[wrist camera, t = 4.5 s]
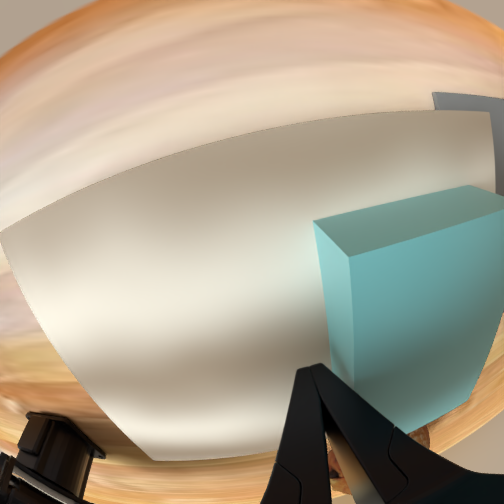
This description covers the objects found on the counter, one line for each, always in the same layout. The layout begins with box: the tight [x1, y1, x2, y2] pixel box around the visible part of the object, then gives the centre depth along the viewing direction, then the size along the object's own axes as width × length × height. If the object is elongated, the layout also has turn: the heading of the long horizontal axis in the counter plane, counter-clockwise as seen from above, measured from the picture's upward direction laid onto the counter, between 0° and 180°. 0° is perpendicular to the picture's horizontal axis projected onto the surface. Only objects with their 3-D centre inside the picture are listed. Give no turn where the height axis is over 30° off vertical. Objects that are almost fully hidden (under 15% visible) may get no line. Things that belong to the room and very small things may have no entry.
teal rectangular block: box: [313, 185, 504, 434], centre depth 8 cm, size 9×6×2 cm, turn 14°
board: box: [0, 110, 496, 461], centre depth 11 cm, size 14×18×4 cm
